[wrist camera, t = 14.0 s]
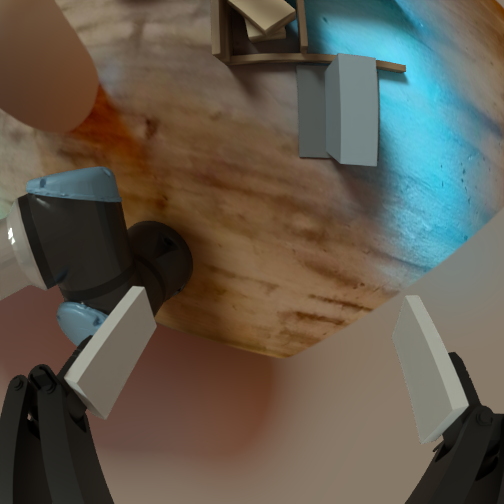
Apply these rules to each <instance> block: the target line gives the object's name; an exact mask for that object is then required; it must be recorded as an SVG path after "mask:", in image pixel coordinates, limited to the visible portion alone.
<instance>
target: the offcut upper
mask: <svg viewBox="0 0 504 504" xmlns="http://www.w3.org/2000/svg"><path fill="white" fill-rule="evenodd" d="M226 1H227V3H228V4H229V6H231V7H232V8H233V9H234V10H236V11H237V12H238V13H239V14H241V15H242V16H243V17H244V18H245V19H246V20H248V21H249V22H250V23H251V24H252V25H253V26H255V27H256V28H257V29H258V30H259V31H260V32H261V33H262V34H263V35H264V36H266V37H267V38H268V37H269V36H271V35H272V34H274V33H275V32H276V31H278V30H279V29H281V28H282V27H284V26H285V25H287V24H289V23H290V22H292V21H293V20H295V15H296V10H295V9H294V8H293V7H291V6H290V5H289V4H288V3H287V2H286V1H284V0H226Z"/></svg>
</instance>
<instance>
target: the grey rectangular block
mask: <svg viewBox="0 0 504 504" xmlns="http://www.w3.org/2000/svg"><path fill="white" fill-rule="evenodd" d="M324 73H325V95H326V151H327V152H328V153H329V154H330V155H331V156H332V157H333V158H335V159H336V160H337V161H338V162H339V163H340V164H352V165H366V166H377V147H378V91H377V71H376V58H372V57H366V56H358V55H350V54H340V53H338V54H337V56H336V57H335V58H334V60H333V61H332V62H331V64H330V65H329V67H328V68H327V69H326V71H325V72H324Z"/></svg>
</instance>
